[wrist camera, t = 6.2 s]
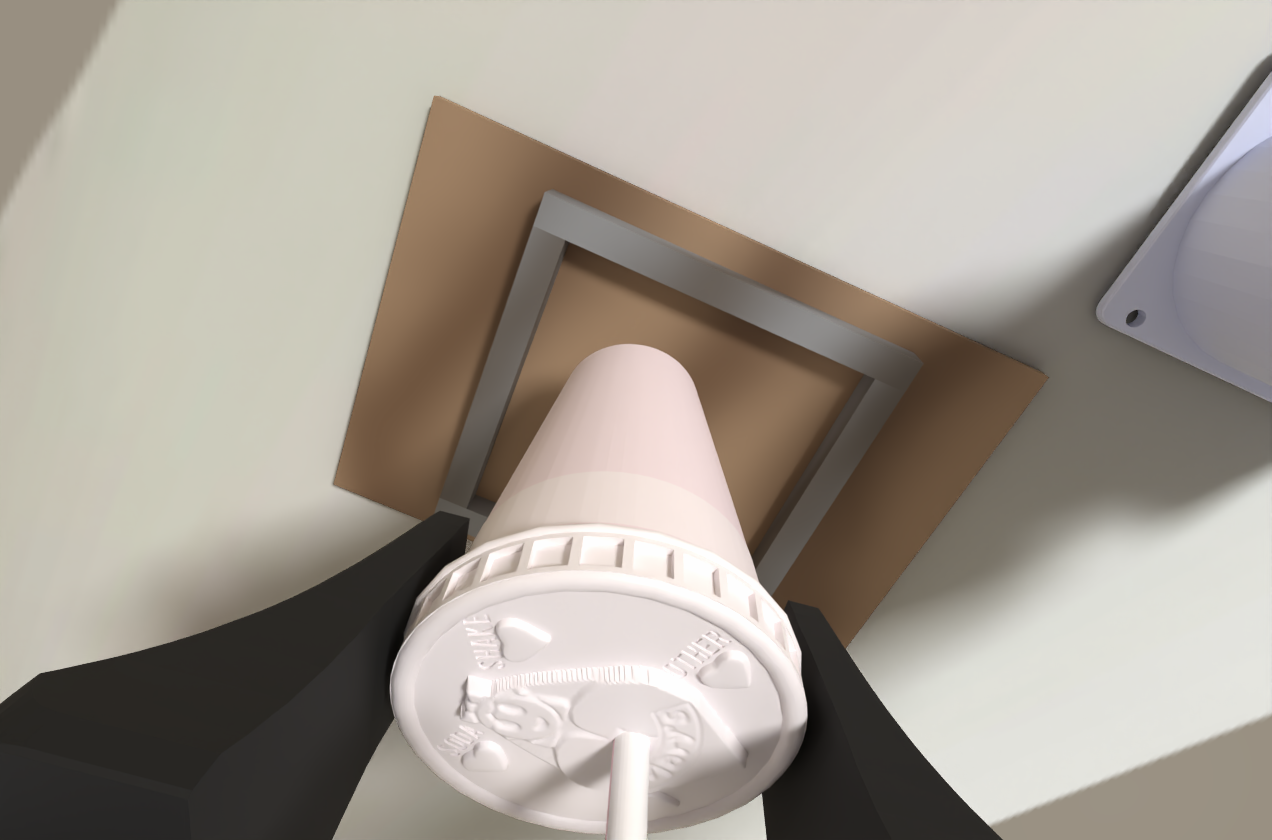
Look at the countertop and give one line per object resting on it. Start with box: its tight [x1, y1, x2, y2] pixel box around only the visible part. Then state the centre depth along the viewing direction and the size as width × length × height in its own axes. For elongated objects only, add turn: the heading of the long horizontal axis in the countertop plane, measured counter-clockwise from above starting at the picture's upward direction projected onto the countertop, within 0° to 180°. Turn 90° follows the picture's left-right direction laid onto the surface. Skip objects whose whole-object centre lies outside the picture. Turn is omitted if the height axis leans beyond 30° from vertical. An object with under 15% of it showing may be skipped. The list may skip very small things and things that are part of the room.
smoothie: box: [390, 344, 807, 840], centre depth 12 cm, size 6×6×14 cm
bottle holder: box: [334, 96, 1049, 649], centre depth 22 cm, size 20×14×2 cm
